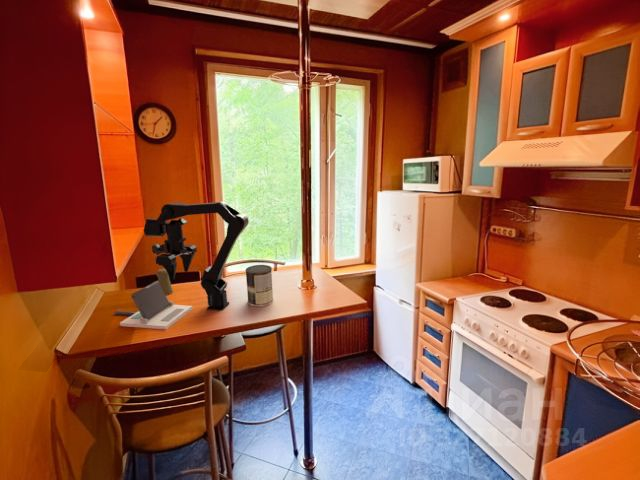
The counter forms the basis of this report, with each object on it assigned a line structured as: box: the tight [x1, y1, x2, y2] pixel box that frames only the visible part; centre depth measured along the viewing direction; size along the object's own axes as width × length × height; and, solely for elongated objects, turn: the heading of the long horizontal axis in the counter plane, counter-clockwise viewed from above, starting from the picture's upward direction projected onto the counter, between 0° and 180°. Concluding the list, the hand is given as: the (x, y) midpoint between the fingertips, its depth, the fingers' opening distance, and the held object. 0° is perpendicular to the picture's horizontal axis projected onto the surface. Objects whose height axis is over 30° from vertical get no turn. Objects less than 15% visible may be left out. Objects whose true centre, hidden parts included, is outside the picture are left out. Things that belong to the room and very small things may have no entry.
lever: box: [130, 280, 170, 320], centre depth 127 cm, size 2×14×11 cm, turn 168°
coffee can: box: [245, 264, 274, 308], centre depth 139 cm, size 10×10×14 cm
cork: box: [156, 268, 174, 297], centre depth 150 cm, size 6×6×11 cm
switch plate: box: [114, 300, 194, 330], centre depth 128 cm, size 27×17×3 cm, turn 80°
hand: (179, 275), depth 134 cm, fingers open, 9 cm apart
